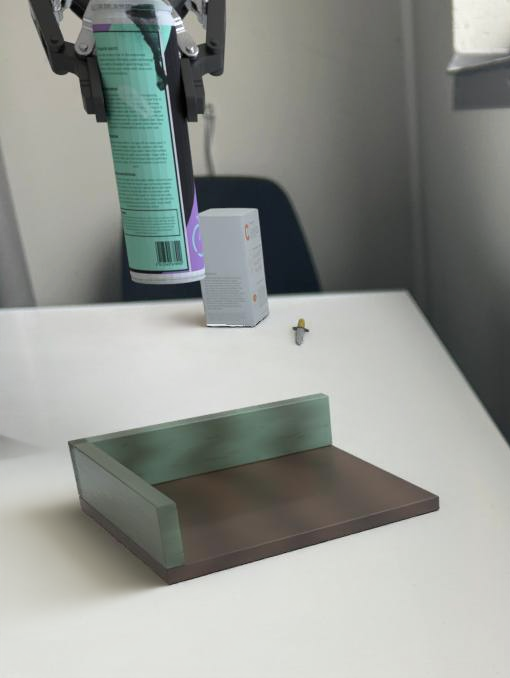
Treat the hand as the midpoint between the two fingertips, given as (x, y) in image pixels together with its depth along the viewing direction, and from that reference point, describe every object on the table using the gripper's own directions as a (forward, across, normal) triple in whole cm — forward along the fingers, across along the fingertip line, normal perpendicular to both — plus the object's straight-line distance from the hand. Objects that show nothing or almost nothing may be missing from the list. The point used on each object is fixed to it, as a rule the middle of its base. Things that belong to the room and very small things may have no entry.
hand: (147, 112), depth 71 cm
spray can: (+7, 0, +9) cm, 12 cm away
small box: (-21, +9, +56) cm, 61 cm away
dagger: (-13, +16, +48) cm, 52 cm away
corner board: (+27, +4, +8) cm, 28 cm away
